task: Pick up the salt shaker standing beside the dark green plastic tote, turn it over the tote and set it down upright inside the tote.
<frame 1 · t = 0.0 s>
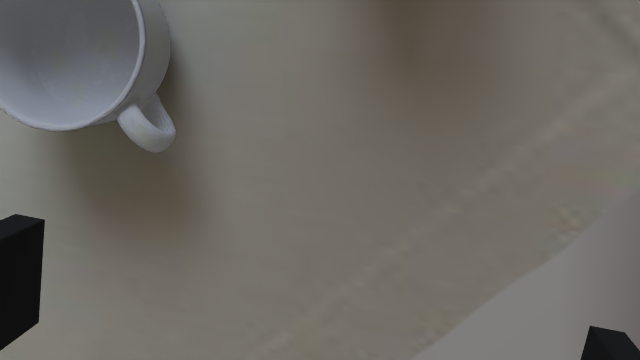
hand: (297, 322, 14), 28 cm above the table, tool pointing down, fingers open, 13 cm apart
teacup: (127, 61, 43), on the table
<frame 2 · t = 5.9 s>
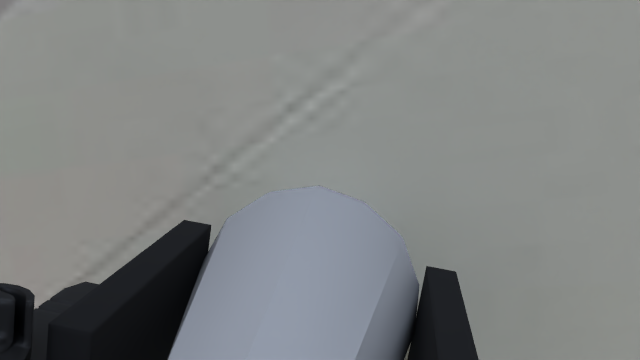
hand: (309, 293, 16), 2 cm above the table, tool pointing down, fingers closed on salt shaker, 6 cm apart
salt shaker: (320, 262, 19), on the table, touching gripper
when the fingers open (3 cm above the table, at t = 13.9 s): salt shaker stays where it is, resting on tote.
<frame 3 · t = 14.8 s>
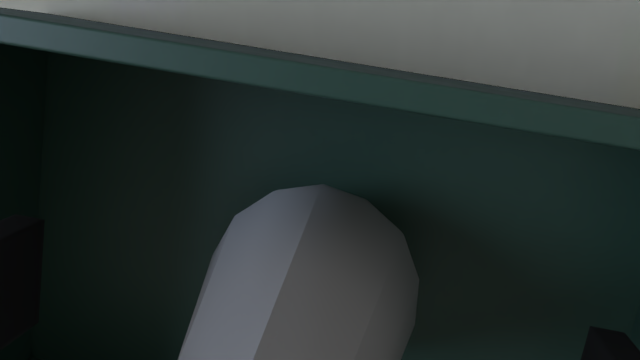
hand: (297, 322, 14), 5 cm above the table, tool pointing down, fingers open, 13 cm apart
salt shaker: (323, 258, 19), resting on tote
tote: (325, 253, 20), on the table
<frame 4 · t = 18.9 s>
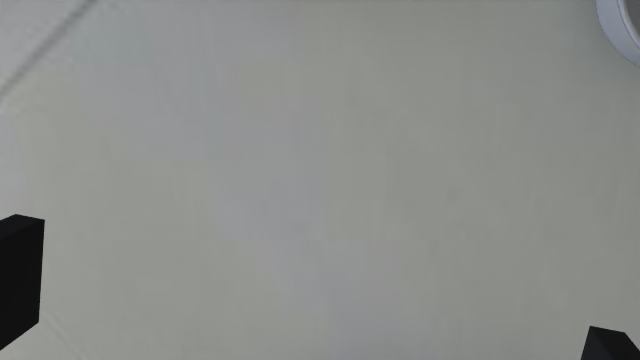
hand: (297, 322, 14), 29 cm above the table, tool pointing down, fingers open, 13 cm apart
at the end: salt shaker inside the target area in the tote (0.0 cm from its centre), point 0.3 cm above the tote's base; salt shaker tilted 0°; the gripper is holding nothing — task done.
